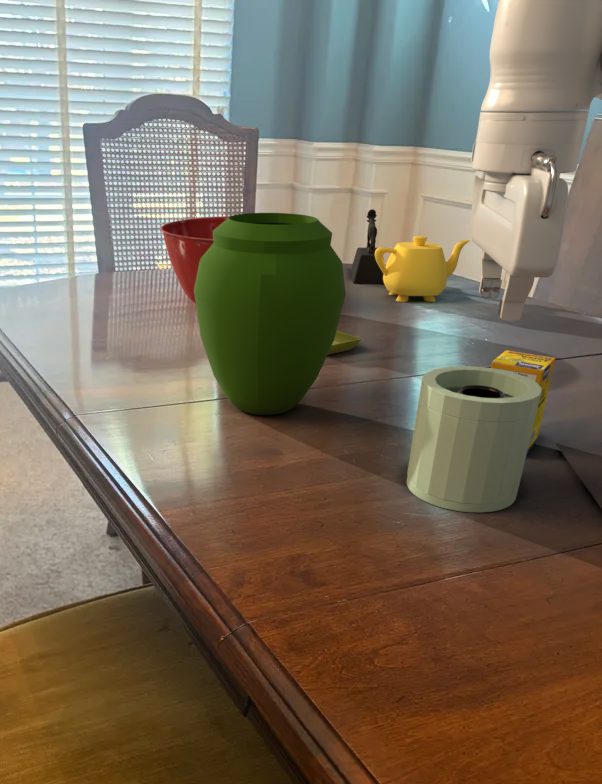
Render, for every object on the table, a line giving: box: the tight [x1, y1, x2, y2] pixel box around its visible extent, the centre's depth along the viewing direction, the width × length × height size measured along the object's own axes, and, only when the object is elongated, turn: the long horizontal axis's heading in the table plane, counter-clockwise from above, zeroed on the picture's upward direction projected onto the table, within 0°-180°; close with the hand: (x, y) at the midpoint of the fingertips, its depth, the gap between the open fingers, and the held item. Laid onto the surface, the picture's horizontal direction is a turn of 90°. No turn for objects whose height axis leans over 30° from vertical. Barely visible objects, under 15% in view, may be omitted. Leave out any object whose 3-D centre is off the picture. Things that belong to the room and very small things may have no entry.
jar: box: [406, 365, 542, 514], centre depth 82 cm, size 12×12×12 cm
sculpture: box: [349, 208, 385, 285], centre depth 180 cm, size 8×13×15 cm, turn 171°
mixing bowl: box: [160, 216, 230, 305], centre depth 155 cm, size 28×28×16 cm
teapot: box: [375, 235, 472, 303], centre depth 164 cm, size 13×20×12 cm
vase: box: [194, 212, 347, 416], centre depth 101 cm, size 20×20×24 cm
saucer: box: [327, 330, 362, 356], centre depth 131 cm, size 9×9×2 cm
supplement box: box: [490, 349, 556, 455], centre depth 93 cm, size 6×6×11 cm
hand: (498, 307), depth 75 cm, fingers open, 8 cm apart
